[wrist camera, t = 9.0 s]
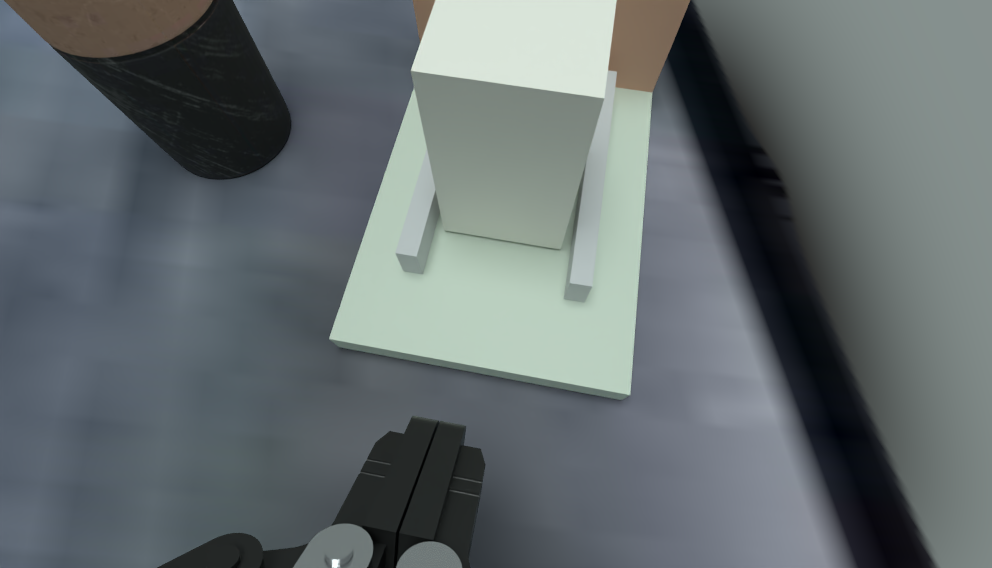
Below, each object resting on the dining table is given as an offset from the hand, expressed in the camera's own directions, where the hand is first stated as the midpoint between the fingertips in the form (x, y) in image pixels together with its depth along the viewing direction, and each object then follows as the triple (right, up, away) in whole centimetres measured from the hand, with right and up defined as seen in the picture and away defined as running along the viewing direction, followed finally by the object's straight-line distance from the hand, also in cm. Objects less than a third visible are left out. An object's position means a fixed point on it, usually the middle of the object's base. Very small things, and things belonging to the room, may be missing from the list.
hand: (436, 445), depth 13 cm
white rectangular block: (+2, +9, +11) cm, 15 cm away
